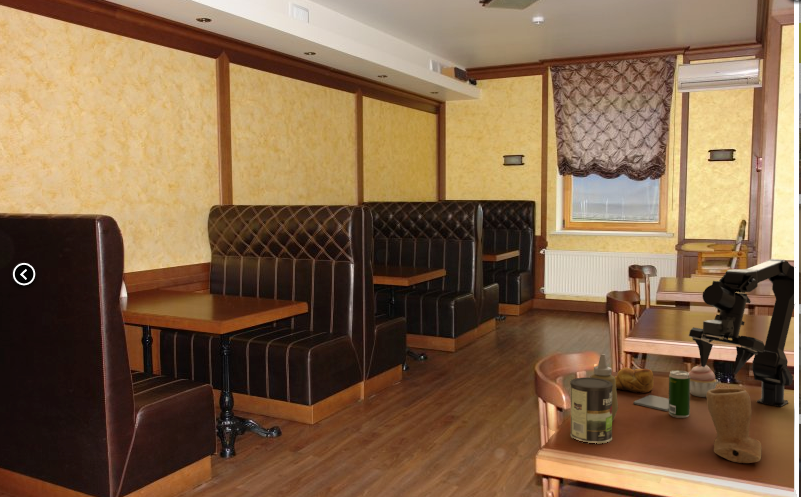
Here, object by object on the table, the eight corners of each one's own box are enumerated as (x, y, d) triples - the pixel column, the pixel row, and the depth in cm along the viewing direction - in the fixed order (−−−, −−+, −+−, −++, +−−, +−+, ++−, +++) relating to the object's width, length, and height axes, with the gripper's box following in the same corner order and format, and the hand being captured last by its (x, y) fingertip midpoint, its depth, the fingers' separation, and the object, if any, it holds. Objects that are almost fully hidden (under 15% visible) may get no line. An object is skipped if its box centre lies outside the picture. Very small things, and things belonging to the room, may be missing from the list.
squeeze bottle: (585, 422, 177) (585, 356, 176) (588, 413, 185) (589, 350, 184) (616, 425, 174) (617, 359, 173) (619, 416, 182) (619, 352, 181)
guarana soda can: (682, 419, 179) (682, 376, 178) (664, 414, 183) (664, 372, 182) (693, 416, 181) (694, 373, 181) (676, 411, 186) (676, 369, 185)
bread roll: (608, 390, 207) (608, 365, 207) (616, 383, 216) (616, 359, 215) (651, 396, 201) (651, 370, 200) (657, 388, 209) (657, 363, 208)
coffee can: (616, 434, 168) (617, 380, 167) (606, 447, 159) (606, 390, 159) (577, 427, 174) (577, 375, 173) (564, 439, 165) (564, 384, 164)
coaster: (649, 396, 200) (649, 394, 200) (682, 403, 193) (682, 401, 193) (633, 403, 193) (633, 401, 193) (666, 411, 186) (666, 409, 186)
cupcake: (681, 389, 207) (682, 358, 206) (713, 391, 205) (714, 359, 204) (688, 398, 198) (689, 365, 197) (722, 399, 196) (722, 366, 195)
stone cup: (708, 438, 164) (709, 379, 163) (762, 446, 158) (763, 385, 157) (701, 459, 151) (702, 395, 150) (760, 469, 145) (761, 402, 144)
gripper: (683, 302, 184) (670, 357, 182) (748, 311, 168) (734, 371, 166) (706, 312, 189) (694, 365, 187) (771, 322, 173) (758, 380, 171)
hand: (718, 370), depth 178 cm, fingers open, 9 cm apart
